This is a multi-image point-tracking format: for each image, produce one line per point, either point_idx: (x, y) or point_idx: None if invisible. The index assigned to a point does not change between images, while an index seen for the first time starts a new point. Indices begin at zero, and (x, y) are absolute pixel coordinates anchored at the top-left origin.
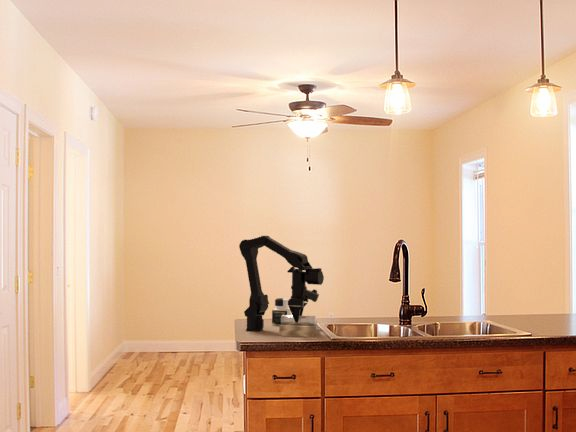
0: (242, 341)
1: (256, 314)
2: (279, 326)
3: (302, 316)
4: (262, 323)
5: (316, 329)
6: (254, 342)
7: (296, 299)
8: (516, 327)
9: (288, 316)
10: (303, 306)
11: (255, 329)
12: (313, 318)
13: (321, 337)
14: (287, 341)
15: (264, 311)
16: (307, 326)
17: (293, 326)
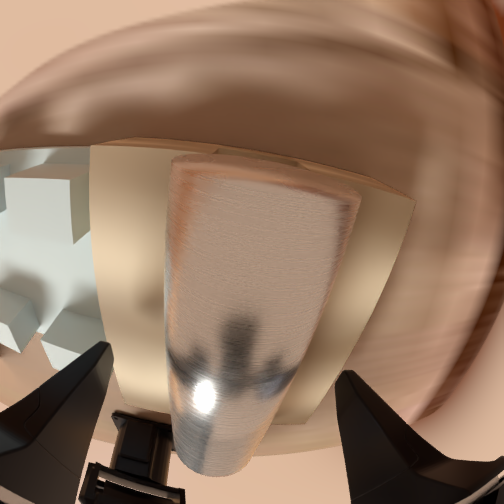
0: (407, 423)
1: (140, 486)
2: (304, 420)
3: (272, 389)
4: (148, 447)
5: (42, 148)
6: (436, 399)
7: None
8: None
9: (246, 455)
10: (476, 483)
11: (170, 439)
12: (351, 218)
13: (399, 114)
14: (468, 321)
15: (111, 484)
16: (379, 260)
17: (341, 365)
